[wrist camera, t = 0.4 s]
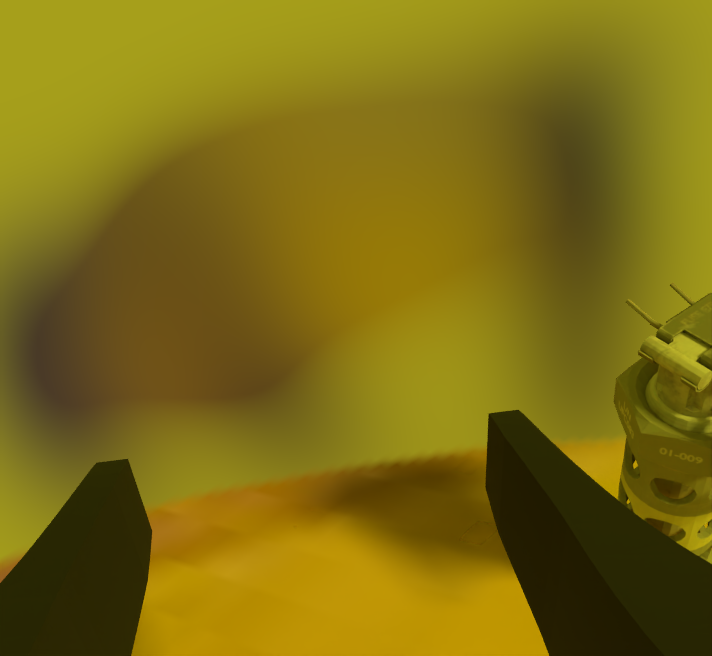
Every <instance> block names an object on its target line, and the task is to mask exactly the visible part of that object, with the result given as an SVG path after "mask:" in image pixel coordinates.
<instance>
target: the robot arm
mask: <svg viewBox="0 0 712 656" xmlns="http://www.w3.org/2000/svg"><path fill="white" fill-rule="evenodd" d="M488 420H489V421H488V442H487V465H486V491H487V494H488V498H489V501H490V505H491V509H492V512H493V516H494V519H495V522H496V526H497V529H498V532H499V535H500V537H501V540H502V542H503V545H504V547H505V550H506V552H507V554H508V557H509V559H510V561H511V564H512V566H513V569H514V571H515V573H516V576H517V578H518V580H519V583H520V585H521V587H522V590H523V592H524V594H525V597H526V599H527V601H528V604H529V606H530V609H531V611H532V613H533V616H534V618H535V620H536V623H537V625H538V627H539V630H540V632H541V635H542V637H543V640H544V643H545V645H546V648H547V650H548V653H549V656H712V564H711V563H709V562H708V561H706V560H704V559H703V558H701V557H699V556H697V555H696V554H694V553H693V552H691V551H689V550H688V549H686V548H685V547H683V546H681V545H680V544H678V543H677V542H675V541H674V540H672V539H671V538H669V537H668V536H666V535H665V534H663V533H662V532H660V531H659V530H658V529H656V528H655V527H653V526H652V525H650V524H649V523H647V522H646V521H644V520H643V519H642V518H640V517H639V516H638V515H636V514H635V513H634V512H632V511H631V510H630V509H629V508H627V507H626V506H625V505H623V504H622V503H621V502H620V501H618V500H617V499H616V498H615V497H613V496H612V495H611V494H610V493H608V492H607V491H606V490H605V489H604V488H602V487H601V486H600V485H599V484H598V483H597V482H595V481H594V480H593V479H592V478H591V477H590V476H589V475H587V474H586V473H585V472H584V471H583V470H582V469H581V468H580V467H578V466H577V465H576V464H575V463H574V462H573V461H572V460H571V459H569V458H568V457H567V456H566V455H565V454H564V453H563V452H562V451H561V450H560V449H559V448H558V447H557V446H556V445H555V444H554V443H552V442H551V441H550V440H549V439H548V438H547V437H546V436H545V435H544V434H543V433H542V432H541V431H540V430H539V429H538V428H537V427H536V426H535V425H534V424H533V423H532V422H531V421H530V420H529V419H528V418H527V417H526V416H525V415H524V414H523V413H521V412H520V411H519V410H513V411H505V412H497V413H490V414H489V419H488ZM151 539H152V529H151V526H150V523H149V520H148V517H147V514H146V511H145V508H144V505H143V502H142V500H141V497H140V494H139V491H138V488H137V485H136V482H135V479H134V476H133V473H132V470H131V467H130V464H129V461H128V459H123V460H116V461H107V462H99V463H96V464H95V465H94V467H93V468H92V469H91V470H90V472H89V473H88V474H87V476H86V477H85V478H84V479H83V481H82V482H81V483H80V485H79V486H78V487H77V489H76V490H75V492H74V493H73V494H72V495H71V497H70V498H69V499H68V501H67V502H66V503H65V505H64V506H63V507H62V508H61V510H60V511H59V513H58V514H57V515H56V517H55V518H54V519H53V520H52V522H51V523H50V524H49V525H48V527H47V528H46V529H45V530H44V532H43V533H42V534H41V535H40V537H39V538H38V539H37V540H36V542H35V543H34V544H33V546H32V547H31V548H30V549H29V550H28V552H27V553H26V554H25V555H24V557H23V558H22V559H21V560H20V561H19V562H18V564H17V565H16V566H15V567H14V568H13V569H12V570H11V572H10V573H9V574H8V575H7V576H6V577H5V579H4V580H3V581H2V582H1V583H0V656H131V653H132V649H133V645H134V640H135V636H136V631H137V627H138V623H139V618H140V614H141V609H142V604H143V600H144V595H145V591H146V586H147V581H148V572H149V562H150V552H151Z"/></svg>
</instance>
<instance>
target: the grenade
mask: <svg viewBox="0 0 712 656" xmlns="http://www.w3.org/2000/svg"><path fill="white" fill-rule="evenodd" d="M670 286H671V287H672V288H673V289H674V290H675V291H676V292H677V293H678V294H680V295H681V296H682V297H683V298H684V299H685V300H686V301H687V302H688V303H689V304H691V306H689V307H688V308H686V309H685V310H684V311H682V312H681V313H679V314H677V315H676V316H674V317H673V318H671V319H670V320H668V321H667V322H666V324H665V325H661V324H659V323H657V322H656V321H654V320H653V319H652V318H651V317H650V316H648V315H647V314H646V313H645V312H644V311H643V310H641V309H640V308H639V307H638V306H637V305H636V304H634V303H633V302H632V301H631V300H630V299H628V300H627V301H626V303H627V304H628V305H630V306H631V307H632V308H633V309H634V310H635V311H636V312H638V313H639V314H640V315H641V316H642V317H643V318H645V319H646V320H647V321H648V322H649V323H650V325H652V326H653V327H655V328H657V329H658V331H657V334H656V337H655V336H653V335H652V336H650V337H648V338H647V339H646V340H645V341H644V342H643V344H642V346H641V348H640V350H639V351H638V355H640V356H641V357H643V358H641V359H640V360H639V361H637V362H636V363H635V364H633V365H632V366H631V367H629V368H628V369H627V370H626V371H625V372H623V373H622V374H621V375H620V376H619V377H617V378H616V387H615V395H614V404H615V407H616V410H617V412H618V415H619V418H620V420H621V423H622V425H623V428H624V430H625V433H626V435H627V437H626V444H625V452H624V459H623V465H622V471H621V477H620V483H619V494H618V501H620V502H621V503H622V504H623V505H625V506H626V507H627V508H629V509H630V510H631V511H632V512H634V513H635V514H636V515H638V516H639V517H640V518H642V519H643V520H644V521H646V522H647V523H649V524H650V525H652V526H653V527H655V528H656V529H658V530H659V531H660V532H662V533H663V534H665V535H666V536H668V537H669V538H671V539H672V540H674V541H675V542H677V543H678V544H680V545H681V546H683V547H685V548H686V549H688V550H689V551H691V552H693V553H694V554H696V555H697V556H699V557H701V558H703V559H704V560H706V561H708V562H709V563H711V564H712V549H711V548H712V293H710V294H708V295H707V296H705V297H703V298H702V299H700V300H699V301H697V302H696V303H695V302H694V301H692V300H691V299H690V298H689V297H688V296H687V295H686V294H685V293H683V292H682V291H681V290H680V289H679V288H678V287H677V286H676V285H675V284H674V283H672V284H671V285H670ZM635 459H636V461H637V464H638V467H636V468H635V469H634V468H633V463H634V461H635ZM628 498H629V500H630V503H629V504H627V500H628ZM707 522H708V527H707V528H705V526H704V525H705V524H706V523H707Z"/></svg>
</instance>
